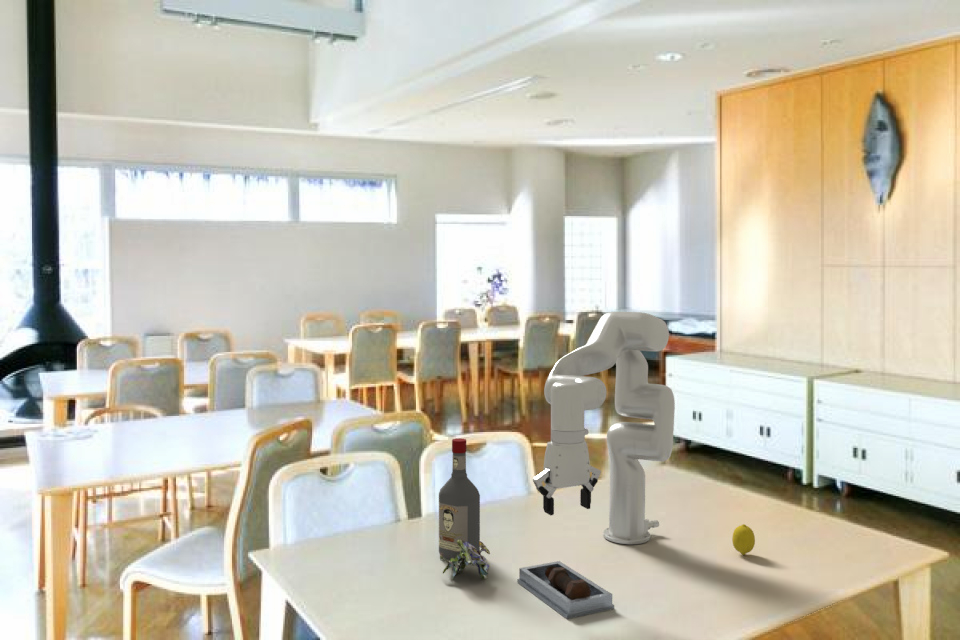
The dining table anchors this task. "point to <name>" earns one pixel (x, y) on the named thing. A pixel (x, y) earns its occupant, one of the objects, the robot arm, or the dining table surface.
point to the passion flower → (468, 559)
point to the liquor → (458, 507)
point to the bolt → (567, 583)
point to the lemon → (743, 539)
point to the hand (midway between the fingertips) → (567, 510)
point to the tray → (557, 599)
